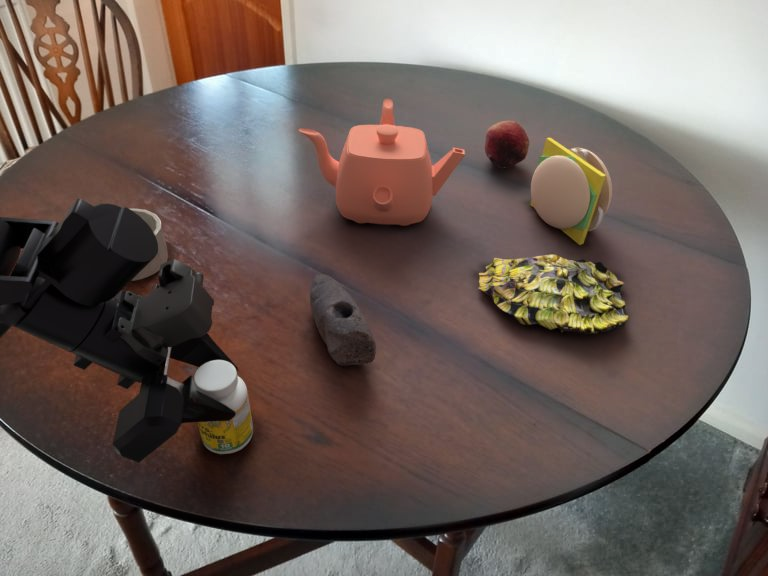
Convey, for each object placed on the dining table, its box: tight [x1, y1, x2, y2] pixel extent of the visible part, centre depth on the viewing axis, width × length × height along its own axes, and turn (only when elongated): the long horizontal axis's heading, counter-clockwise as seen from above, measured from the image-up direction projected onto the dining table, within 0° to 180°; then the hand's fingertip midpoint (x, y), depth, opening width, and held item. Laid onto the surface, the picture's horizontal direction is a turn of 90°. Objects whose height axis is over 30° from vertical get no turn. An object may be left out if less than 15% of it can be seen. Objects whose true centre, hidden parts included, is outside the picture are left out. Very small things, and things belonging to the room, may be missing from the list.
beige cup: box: [129, 207, 169, 282], centre depth 84 cm, size 9×9×6 cm
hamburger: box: [529, 137, 613, 246], centre depth 95 cm, size 12×8×12 cm
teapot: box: [298, 98, 466, 227], centre depth 94 cm, size 18×18×14 cm
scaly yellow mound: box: [478, 254, 630, 335], centre depth 84 cm, size 20×16×7 cm
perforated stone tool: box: [309, 273, 377, 367], centre depth 75 cm, size 15×5×7 cm, turn 22°
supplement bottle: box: [193, 360, 254, 455], centre depth 62 cm, size 5×5×10 cm
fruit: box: [484, 120, 530, 169], centre depth 108 cm, size 8×8×8 cm
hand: (234, 393), depth 61 cm, fingers closed on supplement bottle, 5 cm apart
